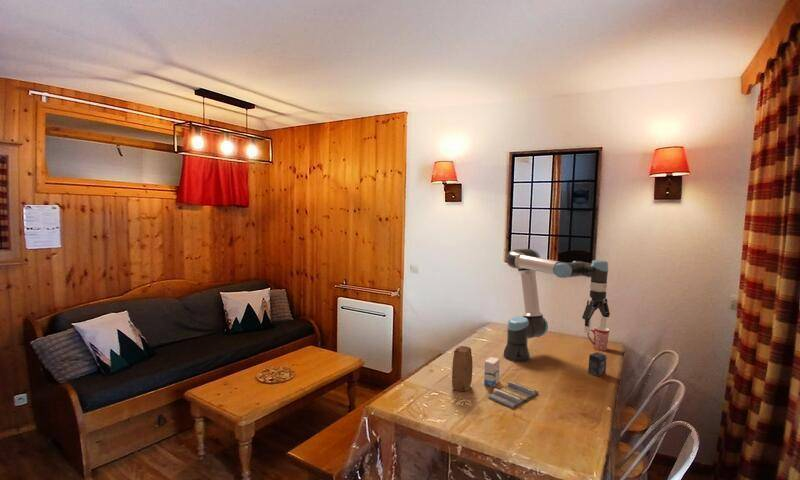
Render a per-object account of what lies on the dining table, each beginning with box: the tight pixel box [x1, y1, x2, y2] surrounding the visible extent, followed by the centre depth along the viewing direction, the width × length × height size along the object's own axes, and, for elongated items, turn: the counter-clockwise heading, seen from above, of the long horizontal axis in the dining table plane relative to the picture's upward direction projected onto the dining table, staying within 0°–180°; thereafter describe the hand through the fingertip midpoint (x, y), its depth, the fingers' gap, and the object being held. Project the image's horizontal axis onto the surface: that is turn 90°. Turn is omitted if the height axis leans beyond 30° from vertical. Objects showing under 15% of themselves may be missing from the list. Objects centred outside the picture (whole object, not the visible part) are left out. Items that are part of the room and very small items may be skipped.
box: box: [587, 351, 608, 377], centre depth 211 cm, size 8×6×11 cm
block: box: [451, 345, 474, 392], centre depth 189 cm, size 11×8×20 cm
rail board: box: [487, 381, 539, 410], centre depth 182 cm, size 13×22×3 cm, turn 132°
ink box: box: [483, 356, 501, 387], centre depth 196 cm, size 9×5×12 cm, turn 145°
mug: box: [586, 326, 610, 352], centre depth 251 cm, size 13×9×14 cm
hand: (595, 330), depth 202 cm, fingers open, 13 cm apart
